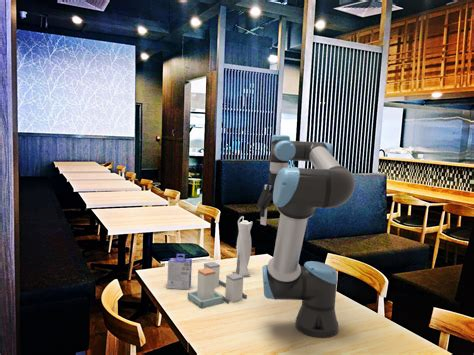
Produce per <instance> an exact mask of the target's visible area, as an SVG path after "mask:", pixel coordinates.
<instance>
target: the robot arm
mask: <svg viewBox="0 0 474 355" xmlns="http://www.w3.org/2000/svg"><path fill="white" fill-rule="evenodd" d="M333 151H334V150H333V146H332V144H331V143H330V142H324V141H302V140H301V141H300V140H299V141H298V140H291V137H290V136H289V135H284V134H283V135H282V134H273V135H272V136H271V141H270V159H269V162H270V163H269V177H268V178H269V179H268V181H269V184H263V187H262V191H261V193H260V196H259V198H258V200H257V203H256V204H255V207H257V208H258V209H259V217H260V222H259V223H260V225H263V226H267V219H268V218H267V216H268V209H267V207H268V206H269V204H270V203H271V201H273V205H274V206H275V207H276V209H277V211H278V212H279V214H280V215H279V220H278V226H277V232H276V239H275V244H274V245H275V246H274V251H273V257H271V258H270V260H269V261H268V262H267V264H264V265H262V269H261V270H262V284H263V294H264V297H265V299H270V300H275V301H276V300H281V301H283V300H286V301H288V300H289V301H292V300H293V301H301V306H300V308H299V310H298V313H297V315H296V318H295V327H296V329H297V330H298V331H299V332H301V333H302V334H305V335H307V336H310V337H313V338H314V337H315V338H330V337H333V336H335V335H337V333H338V331H339V322H338V320H337V319H338V318H337V314H336V309H335V308H336V295H337V284H338V272H337V270H336V269H335V268H334V267H332V266H331V265H329V264H326V263H325V262H320V261H313V260H310V261H306V262H304V264H303V266H301V265H300V264H299V261H300V256H301V251H302V247H303V242H304V237H305V232H306V229H307V224H308V219H310V218H311V217H313V216H314V214H315V211H316V209H333V208H339V207H340V206H342V205H344V204H345V203H346V202H348V201H349V200H350V198H351V197H353V194H354V191H355V189H356V188H355V187H356V181H355V178H354V175H353V174H352V172H351V171H350V170H349V169H348V168H347V167H345V166H343V165H341V164H340V163H339V162H338V161H337V159H336V158H334V156H333V155H334V154H333ZM289 161H291V162H292V161H295V162H296V161H297V162H310V163H311V165H312V166H313V167H314V168H307V167H306V168H305V167H296V166H292V167H289Z"/></svg>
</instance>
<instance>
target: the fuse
mask: <svg viewBox="0 0 474 355" xmlns="http://www.w3.org/2000/svg"><path fill="white" fill-rule="evenodd" d="M196 289H197V290H196V291H197V298H198V299H200V300H201V301H205V300H209V299H213V298H214V291H216V287H215V271H213V270H212V269H210V268H205V269H204V268H201V269H198V270H197V288H196Z"/></svg>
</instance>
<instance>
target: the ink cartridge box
mask: <svg viewBox="0 0 474 355" xmlns="http://www.w3.org/2000/svg"><path fill="white" fill-rule="evenodd" d="M181 256H182V257H181ZM185 257H186V254H185V253H176V257H175V258H173V257H172V258H169V260H168V262H167V280H166V281H167V282H166V284H167V286H166V288H167V289H173V290H174V289H175V290H176V289H177V290H190V288H191V287H192V269H193V268H192V266H193V265H192V264H193V263H192V261H193V260H192V258H185Z"/></svg>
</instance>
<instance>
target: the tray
mask: <svg viewBox="0 0 474 355" xmlns="http://www.w3.org/2000/svg"><path fill="white" fill-rule="evenodd" d="M215 291H216V290H214V298H213V299H209V300H205V301H201V300H200V299H198V298H197V290H195V291H190V292H187V300H188V301H190V302H192V303H193V304H195V305H196V306H197V307H199V308H200V309H204V308H208V307H212V306H215V305H220V304H223V303H225V302H224V297H225V296H224V295H223V296H222V294H221V293H219V292H218V291H216V292H215ZM217 292H218V293H217ZM220 294H221V295H220Z"/></svg>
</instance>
